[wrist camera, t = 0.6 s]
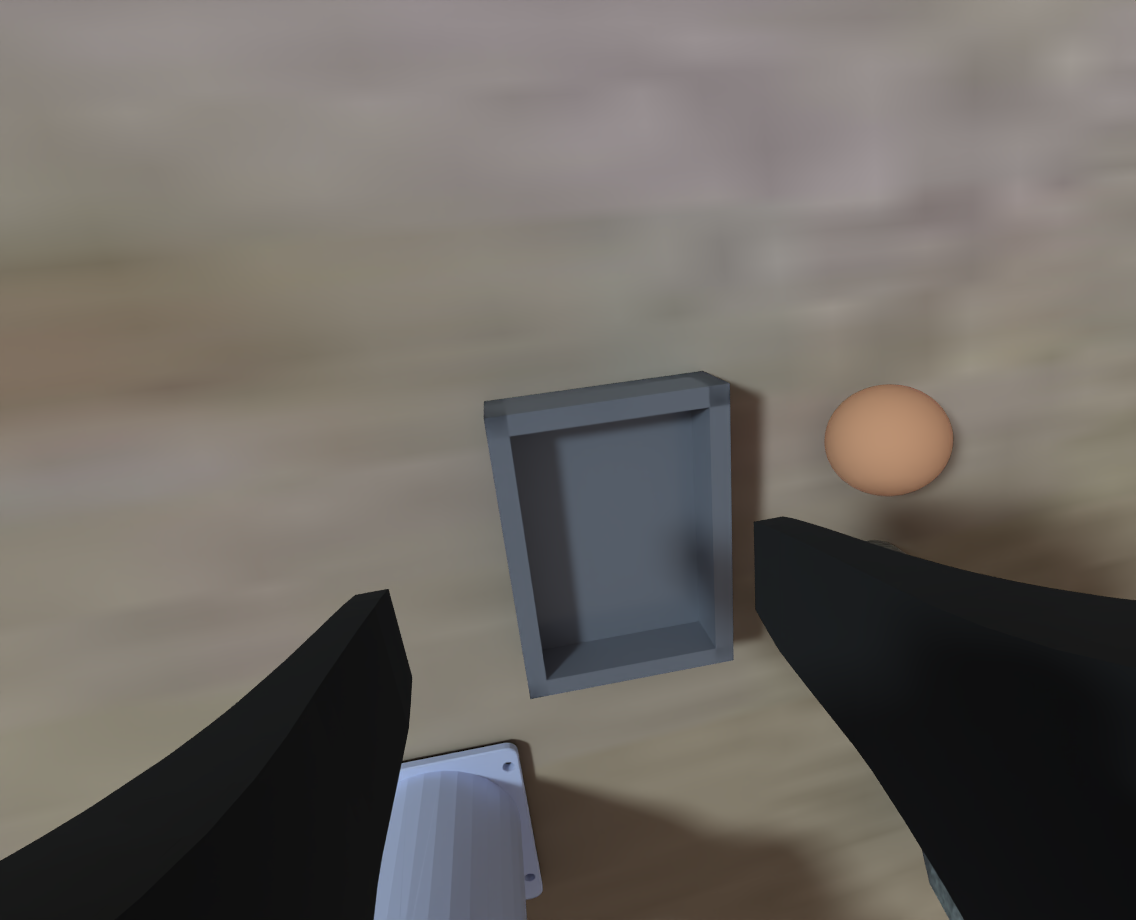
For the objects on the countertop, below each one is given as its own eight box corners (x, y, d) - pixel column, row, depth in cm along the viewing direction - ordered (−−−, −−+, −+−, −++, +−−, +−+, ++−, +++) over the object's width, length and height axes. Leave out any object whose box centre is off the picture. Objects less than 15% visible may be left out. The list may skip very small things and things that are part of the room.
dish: (710, 623, 24) (733, 659, 22) (526, 657, 23) (530, 699, 21) (702, 370, 20) (729, 383, 18) (484, 401, 20) (483, 418, 17)
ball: (894, 465, 23) (974, 504, 19) (801, 480, 22) (865, 522, 19) (903, 368, 21) (991, 389, 18) (805, 382, 21) (874, 406, 17)
